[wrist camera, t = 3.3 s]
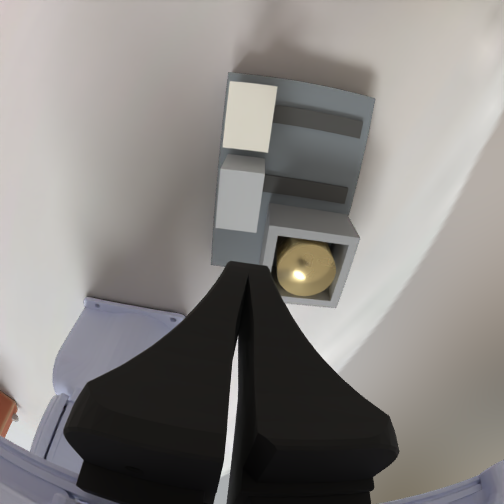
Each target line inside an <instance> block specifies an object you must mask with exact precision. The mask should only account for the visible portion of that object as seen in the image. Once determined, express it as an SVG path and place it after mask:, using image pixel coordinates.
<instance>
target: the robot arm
mask: <svg viewBox="0 0 504 504" xmlns="http://www.w3.org/2000/svg"><path fill="white" fill-rule="evenodd" d="M83 302H84V306H85V308H84V310H83V312H82V313H81V315H80V316H79V318H78V320H77V321H76V323H75V325H74V326H73V328H72V329H71V331H70V333H69V334H68V336H67V338H66V340H65V341H64V343H63V345H62V346H61V348H60V350H59V352H58V354H57V357H56V359H55V363H54V368H53V386H54V390H55V393H56V395H55V396H53V397H52V399H51V401H50V402H49V404H48V406H47V408H46V410H45V412H44V414H43V417H42V419H41V421H40V424H39V426H38V429H37V431H36V434H35V437H34V440H33V443H32V446H31V450H30V452H29V451H27V450H25V449H23V448H22V447H20V446H18V445H16V444H14V443H12V442H11V441H9V440H7V439H5V438H4V437H2V436H0V504H213V503H214V498H215V494H216V492H217V488H218V484H219V480H220V475H221V471H222V467H223V462H224V454H225V444H226V434H227V419H228V406H229V393H230V382H231V370H232V360H233V356H234V351H235V347H236V342H237V338H238V404H237V414H236V424H235V433H234V443H233V452H232V461H231V470H230V479H229V488H228V496H227V504H371V500H370V492H369V491H372V490H373V489H374V481H373V477H374V476H375V475H376V474H378V473H379V472H381V471H382V470H384V469H385V468H386V467H388V466H389V465H390V464H391V463H392V462H393V461H394V460H395V459H396V458H397V456H398V454H399V448H398V443H397V439H396V434H395V430H394V428H393V425H392V422H391V419H390V417H389V415H387V414H385V413H384V412H383V411H381V410H380V409H379V408H377V407H376V406H375V405H373V404H372V403H371V402H369V401H368V400H366V399H365V398H364V397H363V396H361V395H360V394H359V393H358V392H357V391H355V390H354V389H353V388H352V387H351V386H350V385H349V384H347V383H346V382H345V381H344V380H343V379H342V378H341V377H340V376H339V375H338V374H337V373H336V372H335V371H334V370H333V369H332V368H331V367H330V366H329V365H328V364H327V363H326V362H325V360H324V359H323V358H322V357H321V356H320V355H319V354H318V352H317V351H316V350H315V349H314V347H313V346H312V345H311V343H310V342H309V341H308V340H307V338H306V337H305V335H304V334H303V333H302V331H301V330H300V328H299V327H298V325H297V323H296V322H295V320H294V319H293V317H292V315H291V314H290V312H289V310H288V308H287V306H286V305H285V303H284V301H283V299H282V297H281V295H280V293H279V291H278V289H277V287H276V284H275V282H274V280H273V277H272V275H271V272H270V269H269V268H268V266H265V265H258V264H250V263H243V262H237V261H229V262H228V263H227V264H226V266H225V268H224V270H223V272H222V274H221V275H220V277H219V278H218V280H217V281H216V283H215V284H214V285H213V287H212V288H211V289H210V290H209V292H208V293H207V294H206V296H205V297H204V298H203V299H202V300H201V301H200V302H199V304H198V305H197V306H196V307H195V308H194V309H193V310H192V311H191V312H190V313H189V314H188V315H187V316H186V317H185V316H184V315H182V314H179V313H173V312H166V311H160V310H154V309H148V308H143V307H137V306H132V305H126V304H121V303H116V302H110V301H105V300H100V299H96V298H91V297H86V298H85V299H84V301H83ZM98 304H99V305H98ZM173 318H175V319H173ZM378 504H504V460H502V461H500V462H498V463H496V464H494V465H493V466H491V467H489V468H487V469H486V470H485V471H483V472H482V473H481V474H480V475H478V476H475V477H473V478H470V479H467V480H465V481H462V482H459V483H456V484H453V485H450V486H447V487H444V488H441V489H437V490H434V491H430V492H427V493H423V494H419V495H416V496H411V497H407V498H403V499H398V500H394V501H389V502H384V503H378Z"/></svg>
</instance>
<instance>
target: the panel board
mask: <svg viewBox="0 0 504 504" xmlns="http://www.w3.org/2000/svg"><path fill="white" fill-rule="evenodd" d="M230 81H235V82H245V83H254V84H262V85H270V86H277V93H276V100H275V107H274V114H273V121H272V128H271V135H270V142H269V149H268V153H266V152H259V151H251V150H242V149H234V148H224V147H223V137H224V128H225V118H226V109H227V100H228V92H229V83H230ZM374 103H375V98H372V97H368V96H364V95H361V94H357V93H353V92H349V91H345V90H340V89H336V88H331V87H327V86H322V85H317V84H312V83H306V82H301V81H295V80H289V79H282V78H276V77H268V76H260V75H252V74H242V73H231V72H228V80H227V88H226V97H225V106H224V115H223V124H222V134H221V144H220V154H219V165H218V176H217V188H216V200H215V213H214V227H213V241H212V257H211V265H216V266H224V267H225V266H226V264H227V263H228V262H229V261H237V262H243V263H250V264H258V265H265V266H268V268H269V269H270V272H271V275H272V277H273V280H274V282H275V284H276V287H277V289H278V291H279V293H280V295H281V297H282V299H283V301H284V303H288V304H297V305H307V306H318V307H328V308H336V307H337V305H338V302H339V299H340V296H341V294H342V291H343V288H344V285H345V282H346V280H347V277H348V274H349V271H350V268H351V265H352V262H353V259H354V256H355V253H356V250H357V247H358V243H359V240H360V237H359V235H358V233H357V231H356V230H355V228H354V226H353V224H352V222H351V220H350V219H349V217H348V216H349V212H350V208H351V205H352V201H353V197H354V193H355V189H356V185H357V181H358V177H359V173H360V169H361V164H362V160H363V156H364V151H365V147H366V142H367V138H368V133H369V128H370V123H371V118H372V113H373V108H374ZM228 154H233V155H241V156H250V157H258V158H265V177H264V183H263V190H262V197H261V204H260V211H259V218H258V225H257V232H256V233H253V232H245V231H237V230H229V229H221V228H216V215H217V202H218V190H219V179H220V169H221V167H222V165H223V163H224V161H225V159H226V157H227V155H228ZM278 236H285V237H293V238H300V239H307V240H315V241H322V242H328V244H329V247H330V250H331V253H332V256H333V259H334V262H335V265H336V274H335V278H334V280H333V282H332V283H331V284H330V285H329V287H328V288H326V289H325V290H324V291H322V292H320V293H318V294H315V295H311V296H298V295H294V294H291V293H289V292H288V291H286V290H285V289H284V288H283V287H282V286H281V285H280V283H279V281H278V277H277V259H276V242H277V237H278Z"/></svg>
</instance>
